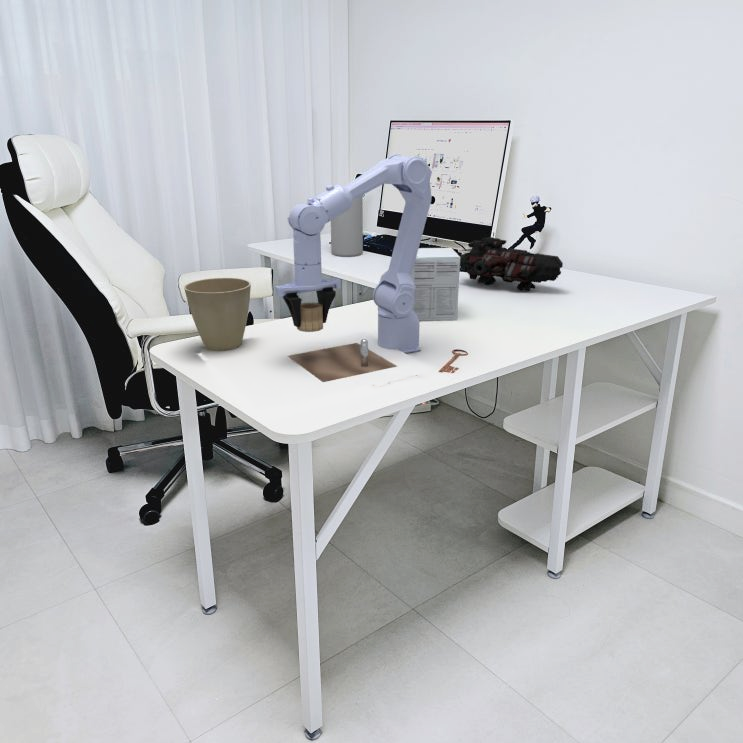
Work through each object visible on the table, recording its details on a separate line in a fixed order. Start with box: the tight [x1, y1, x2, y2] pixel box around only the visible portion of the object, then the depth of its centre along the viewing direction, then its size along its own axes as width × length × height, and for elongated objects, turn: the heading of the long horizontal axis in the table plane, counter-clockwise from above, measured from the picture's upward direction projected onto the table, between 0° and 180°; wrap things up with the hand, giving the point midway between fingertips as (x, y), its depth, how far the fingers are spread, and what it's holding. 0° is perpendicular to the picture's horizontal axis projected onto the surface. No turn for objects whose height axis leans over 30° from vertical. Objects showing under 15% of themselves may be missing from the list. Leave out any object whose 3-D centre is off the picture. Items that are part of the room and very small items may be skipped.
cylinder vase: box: [330, 195, 364, 258], centre depth 258 cm, size 12×12×25 cm
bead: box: [296, 302, 324, 333], centre depth 144 cm, size 6×6×5 cm
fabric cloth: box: [287, 342, 398, 383], centre depth 146 cm, size 18×18×2 cm
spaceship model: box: [460, 236, 564, 292], centre depth 210 cm, size 19×32×15 cm, turn 53°
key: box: [438, 348, 469, 374], centre depth 149 cm, size 6×1×15 cm
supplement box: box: [411, 247, 461, 322], centre depth 181 cm, size 13×13×18 cm
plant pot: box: [183, 277, 252, 352], centre depth 153 cm, size 15×15×16 cm
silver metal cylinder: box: [360, 338, 369, 367], centre depth 142 cm, size 2×2×6 cm
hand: (310, 324), depth 144 cm, fingers closed on bead, 6 cm apart
